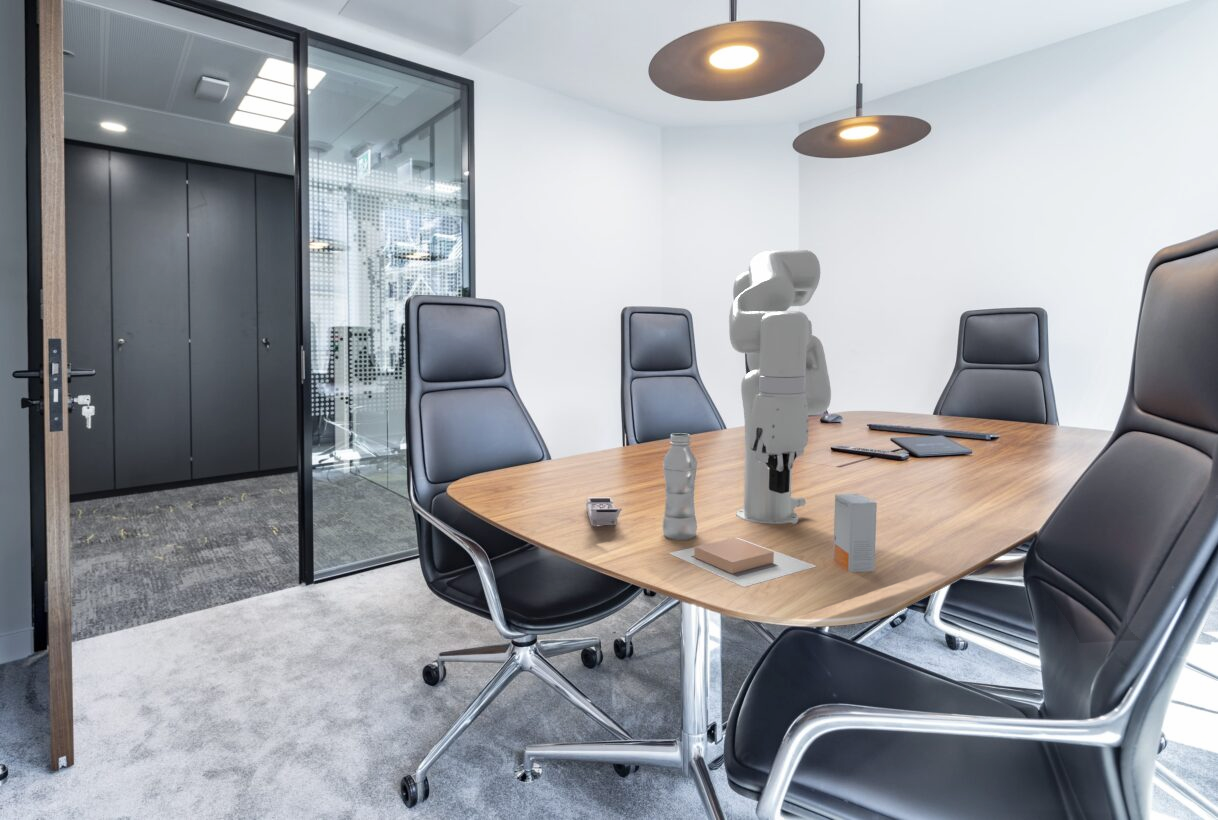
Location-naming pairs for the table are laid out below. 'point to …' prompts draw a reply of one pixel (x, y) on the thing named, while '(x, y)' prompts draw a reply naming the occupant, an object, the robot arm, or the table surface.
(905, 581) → the table surface
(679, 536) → the plastic bottle
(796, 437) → the robot arm
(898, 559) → the table surface
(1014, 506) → the table surface
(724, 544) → the tile
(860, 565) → the skincare box
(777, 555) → the mat
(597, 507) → the mobile phone
